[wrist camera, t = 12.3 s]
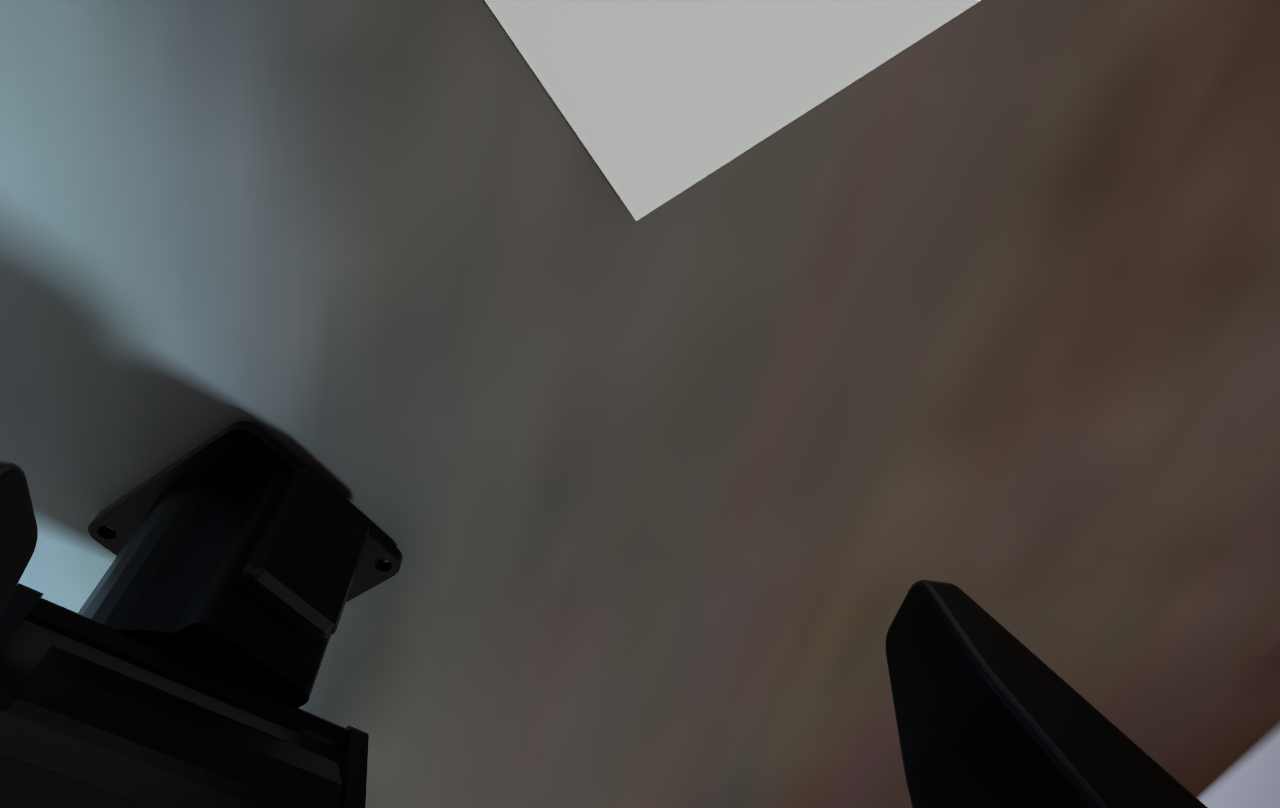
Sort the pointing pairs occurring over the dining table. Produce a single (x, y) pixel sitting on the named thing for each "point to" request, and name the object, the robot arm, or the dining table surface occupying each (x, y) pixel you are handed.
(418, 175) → the dining table surface
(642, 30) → the grey mat
